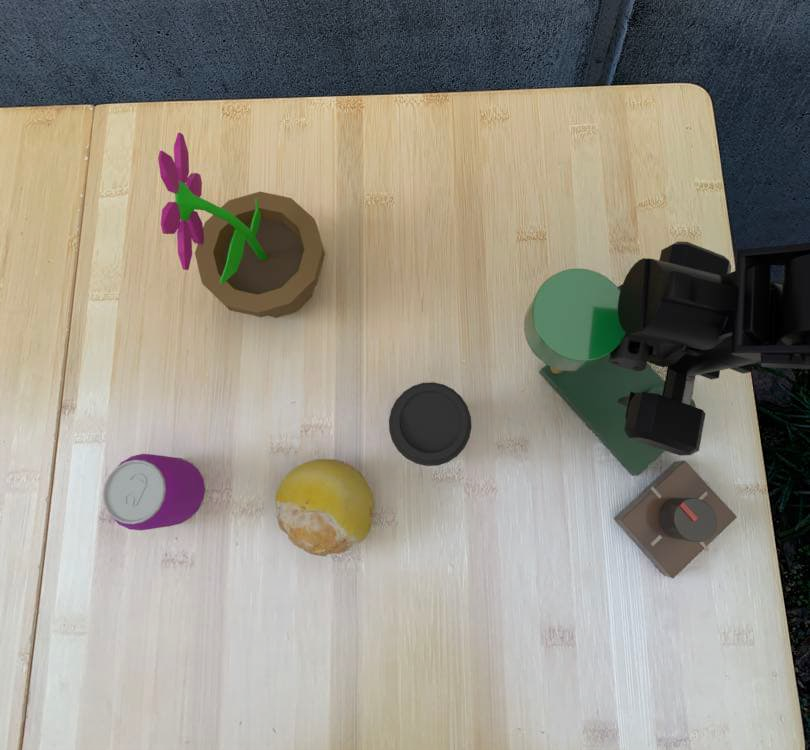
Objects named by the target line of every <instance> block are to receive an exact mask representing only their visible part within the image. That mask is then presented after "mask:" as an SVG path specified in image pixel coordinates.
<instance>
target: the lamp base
mask: <svg viewBox="0 0 810 750" xmlns="http://www.w3.org/2000/svg"><path fill="white" fill-rule="evenodd" d="M609 358H610V354H608V355H607V356H605V357H604V358H602V359H601V360H600V361H598V362H597V363H595V364H594V365H592V366H590V367H588V368H586V369H582V370H578V371H563V372H561V373H560V374H554V373H553V372H552V371H551V370H550V366H549V365H547V364H545V365H544V366H543V367H542V368H541V369H540V370H539V371H538V373H539V375H540V376H541V377H542V378H543V379H544V380H545V381H546V382H547V383H548V384H549V386H551V388H553V389H554V391H555V392H556V393H557V395H559V396H560V397H561V399H562V400H563V401H564V402H565V403H566V404H567V405H568V407H569V408H570V409H571V410H572V411H573V412H574V413H575V414H576V416H577V417H579V419H580V420H581V421H582V422H583V423H584V424H585V425H586V426H587V428H588V429H589V430H590V431H591V432H592V434H594V436H595V437H597V439H598V440H599V441H600V442H601V443H602V444H603V445H604V446H605V447H606V449H607V450H608V451H609V452H610V453H611V454H612V455H613V457H615V459H616V460H617V461H618V462H619V463H620V464H621V465H622V466H623V467H624V469H625V470H626V471H628V474H630V475H631V476H632V477H634V476H635V477H637V476H639V475H641V473H643V472H644V471H645V470H646V469H647V468H648V467H649V466H650V465H651V464H652V463H653V462H655V461H656V460H657V459H658V458H659V457H660V456H661V455H662V454H663V453H664V452H666V451H665V450H662V449H659V448H656V447H653V446H650V445H647V444H644V443H641V442H639V441H636V440H633V439H630V438H628V436H627V434H626V433H625V431H624V428H625V423H626V419H625V415H626V410H627V407H625V406H623V405H621V404H619V403H618V399H620V398H622V397H629V396H630V392H634V393H639V392H648V393H654V394H659V395H662V394H663V388H664V383H665V379H663V378H662V377H661V376H660V375H659V374H658V372H656V371H655V370H654V369H653V368H652V366H651V365H650V363H649V362H647V365H646V368H645V369H644V370H643V371H634V370H630V369H626V368H622V367H618V366H614V365H612V364H610V363H609ZM690 405H691V406H693V407H696V408H697V406H696V403H695V400H694V399H693V398H691V404H690Z"/></svg>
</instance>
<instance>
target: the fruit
mask: <svg viewBox="0 0 810 750" xmlns="http://www.w3.org/2000/svg"><path fill="white" fill-rule="evenodd" d="M274 497H275V499H274V500H275V505H276V521H277V524H278V527H279V529H280V531H282V532H283V533H285V534H286V535H287V539H288V540H289V542H291V543H292V544H293V545H294V546H295V547H297V548H299V549H302V550H303V551H304V552H305V553H307V554H309V555H313V556H318V557H328V555H331V554H336V555H340V554H342V553H344V552H347V551H348V550H349V549H351V548H352V547H353V546H354V545H357V544H359V543H361V542H363V541H364V540H366V538H367V537H368V535H369V533H370V530H371V528H372V524H373V520H374V515H375V514H374V513H375V508H376V507H375V500H374V495H373V491H372V489H371V487H370V485H369V484H368V482H367V480H366V478H365V477H364V476H363V474H362V473H361V472H360V471H358V470H357V469H356V468H354V467H353V466H351V465H350V464H348V462H344V461H342V460H338V459H332V458H317V459H313V460H308V461H306V462H303V463H302V464H300V465H298V466H297V467H295V468H293V469H291V470H290V471H289V472H288V473H287V474H286V476H285V477H284V478H283V479H282V480H281V482H280V484H279V485H278V488H277V490H276V492H275V496H274Z"/></svg>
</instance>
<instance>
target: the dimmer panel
mask: <svg viewBox="0 0 810 750" xmlns="http://www.w3.org/2000/svg"><path fill="white" fill-rule="evenodd" d="M672 498H696V499H700V500H703V501H704V502H706V503H707V504H709V505H710V507H711V508H712V509H713V511H714V513H715V515H716V520H717V526H716V530H715V532H714V534H713V535H712V536H711V537H710V538H709V539H708V540H706V541H703V542H691V541H686V540H680V539H676V538H673V537H671V536H670V535H668V534H667V533H666V532H665V531H664V529H663V528H662V526H661V523H660V518H659V515H660V510H661V508H662V506H663V504H664V503H665V502H666V501H668V500H670V499H672ZM737 517H738V516H737V515H736V513H734V512H733V511H732V509H730V508H729V506H728V505H727V504H726V503H725V502H724V501H723V500H722V499H721V497H719V496H718V495H717V494H716V493H715V491H714V490H713V489H712V488H711V487H710V486H709V485H708V483H706V482H705V480H704V479H703V478H702V477H701V476H700V475H699V474H698V473H697V472H696V470H694V468H693V467H691V465H690V464H688V462H687V461H686V460H678V461H677V460H676V461H674V462H673V463H672V464H670V465H669V467H667V468H666V469H665V470H664V471H663V472H662V473H661V474H660V475H659V476H658V477H657V478H656V479H654V480H653V481H652V482H651V483H650V484H649V485H648V486H647V487H646V488H644V490H643V491H641V493H639V494H638V495H637V496H636V497H635V498H634V499H633V500H632V501H631V502H630V503H629V504H628V505H627V506H626V507H624V508H622V510H621V511H620V512H619V513H618V514H617V515H616V516H614V517H613V520H614V521H615V522H616V523H617V524H618V526H619V527H620V528H621V529H622V531H624V532H625V534H626V535H627V536H628V537H629V538H630V539H631V540H632V542H633V543H634V544H635V545H636V547H638V548H639V549H640V551H641V552H642V553H643V554H644V555H645V556H646V557H647V559H649V561H650V563H652V564H653V566H655V568H656V569H657V570H658V571H659V572H660V573H661V575H662V576H664V577H667V578H670V579H675V578H676V577H677V575H679V574H680V573H681V572H682V571H683V570H684V569H685V568H686V567H687V566H688V565H689V564H690V563H691V562H692V561H693V560H695V558H696V557H697V556H699V554H701V553H702V551H703V550H705V551H706V552H708V551H709V550H710V548H709V547H708V546H709V545H710V543H712V542H713V541H714V540H715V539H716V538H717V537H719V535H720V534H721V533H723V531H725V529H727V527H729V526H730V524H731V523H733V522H734V521H735V520H736V519H737Z"/></svg>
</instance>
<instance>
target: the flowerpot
mask: <svg viewBox="0 0 810 750" xmlns="http://www.w3.org/2000/svg"><path fill="white" fill-rule="evenodd" d="M185 139H186V138H185V136H184V134H183V133H181V132H177V134H176V138H175V142H174V145H173V157H172V156H171V155H170V154H169V153H167V152H166V151H164V150H159V152H158V157H157V159H158V167H159V173H160V178H161V181H162V182H163V184H164V186H165V189H166V190H167V192H170V193H173V194H174V200H175V201H168V202H167V203H166V204H165V205H164V207H163V208H162V209H161V217H160V227H161V231H162V234H164V235H175V234H176V240H177V241H176V242H177V243H176V244H177V256H178V258H179V261H180V265H181V268H182V270H184V271H189V269H190V265H191V261H192V259H193V258H192V257H193V243H194V244H196V248H195V251H194V255H195V259H196V264H197V268H198V269H197V270H198V273H199V277H200V281H201V284H202V285H203V286H204V287H205V288H206V289H207V290H208V291H209V292H210V293H211V294H213V296H214V297H215V298H217V300H219V302H221V304H222V305H223V306H225V307H226V308H227V309H228V310H229V311H232V312H235V313H239V314H245V315H249V316H253V317H257V318H264V317H265V318H266V317H271V318H280V317H284V316H287V315H290V314H294V313H297V312H298V311H299V310H300V309H301V308H302V307H303V306H305V304H306V303H308V301H310V300H311V298H312V297H313V296H314V291H315V287H316V286H317V285H318V282H319V279H320V275H321V271H322V268H323V264H324V260H325V257H326V251H325V249H324V245H323V242H322V238H321V235H320V231H319V228H318V225H317V222H316V219H315V218H314V217H313V216H312V215H311V214H310V213H309V212H308V211H306V210H305V209H304V208H303V207H302V206H301V205H300V204H298V202H297V201H295V200H294V199H293V198H292V197H288V196H284V195H279V194H274V193H268V192H264V191H257V192H253V193H250V194H246V195H242V196H239V197H236V198H232V199H229V200H227V201H226V202H225V203H223V205H222V206H221V207H220V206H219V205H216V204H215V203H212V202H211V201H208V200H206V199H204V198H202V194H203V193H202V191H203V181H202V177H201V174H199V173H198V172H191V173H190V160H189V157H190V156H189V149H188V147H187V143H186V140H185ZM196 210H198V211H205V212H206V213H208V214H211V216H210V217H209V218H208V219H207V220H205V222H204V224H203V221H202V219H201V217H200V215H199V213H198V211H196Z"/></svg>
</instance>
